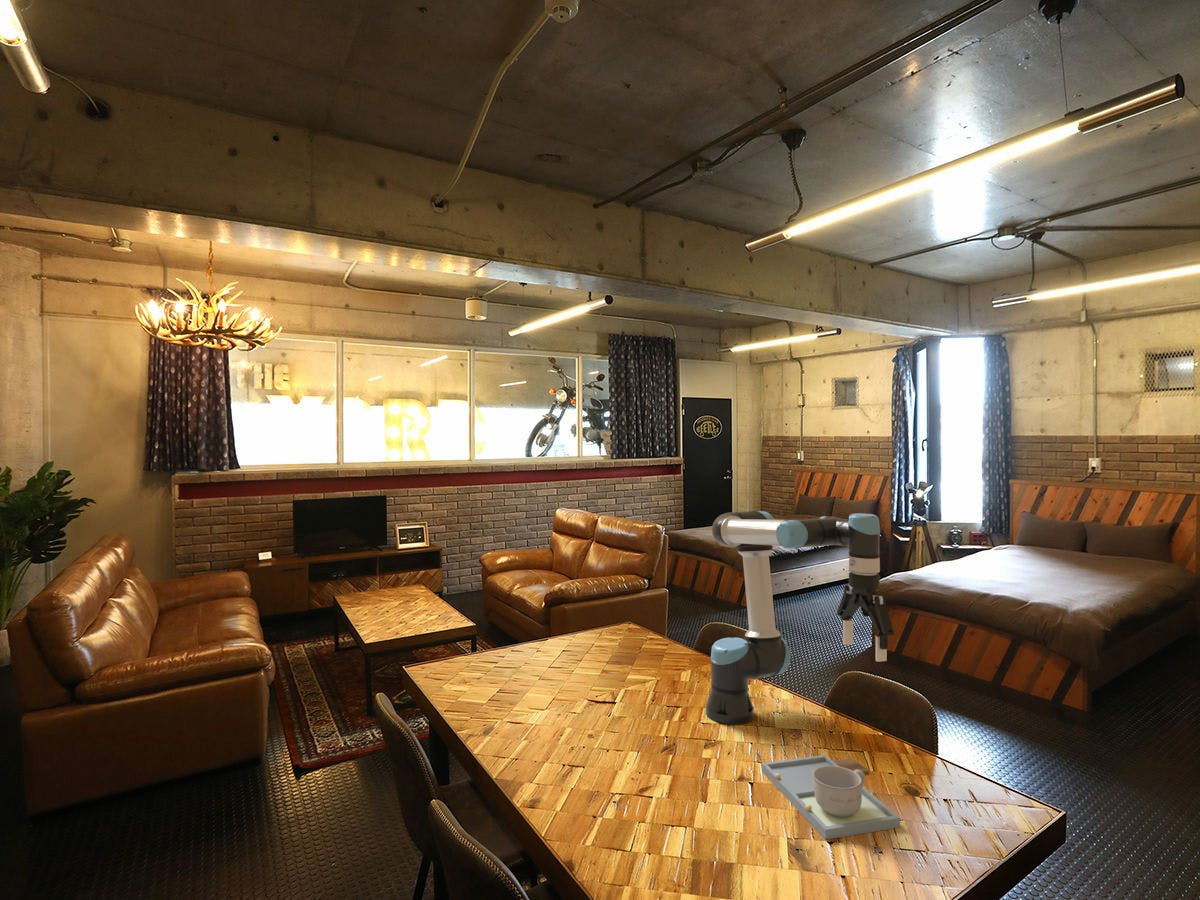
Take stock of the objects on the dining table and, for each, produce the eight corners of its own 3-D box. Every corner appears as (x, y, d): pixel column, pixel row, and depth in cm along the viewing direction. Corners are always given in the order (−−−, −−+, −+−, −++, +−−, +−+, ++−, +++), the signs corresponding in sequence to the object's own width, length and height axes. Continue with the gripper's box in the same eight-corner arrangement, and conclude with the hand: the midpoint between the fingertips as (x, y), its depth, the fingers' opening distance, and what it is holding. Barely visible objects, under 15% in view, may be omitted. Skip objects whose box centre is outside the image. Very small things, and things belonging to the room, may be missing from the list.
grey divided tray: (761, 771, 163) (761, 760, 163) (825, 762, 168) (825, 751, 168) (824, 839, 135) (824, 826, 135) (899, 827, 139) (899, 814, 139)
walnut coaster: (829, 766, 167) (829, 761, 167) (850, 762, 169) (850, 757, 169) (847, 779, 160) (847, 774, 160) (869, 774, 163) (869, 770, 163)
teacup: (830, 826, 138) (831, 791, 138) (803, 799, 148) (803, 766, 148) (883, 817, 141) (884, 782, 141) (853, 791, 152) (853, 759, 152)
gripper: (824, 564, 174) (824, 638, 175) (883, 583, 150) (883, 670, 150) (847, 562, 176) (847, 636, 176) (909, 581, 152) (909, 667, 152)
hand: (863, 652), depth 163 cm, fingers open, 13 cm apart
